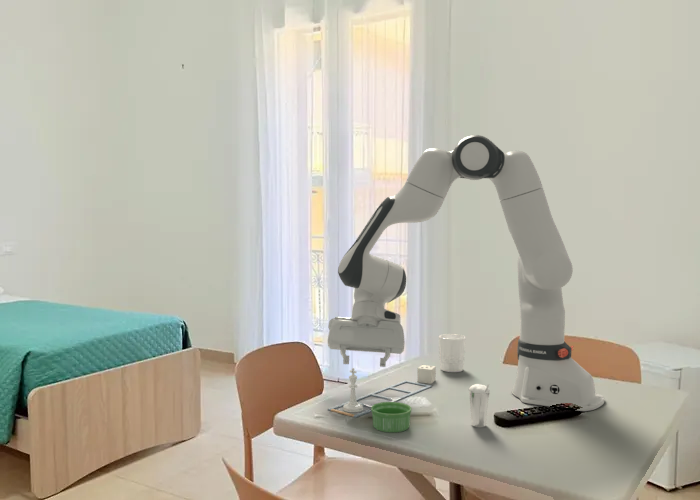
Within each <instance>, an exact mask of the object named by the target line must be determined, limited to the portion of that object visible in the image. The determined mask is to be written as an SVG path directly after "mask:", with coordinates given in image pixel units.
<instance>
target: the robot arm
mask: <svg viewBox="0 0 700 500" xmlns="http://www.w3.org/2000/svg"><path fill="white" fill-rule="evenodd" d="M459 178H460V179H465V180H466V179H467V180H471V181H479V180H482V179H489V180H490V181H491V182H492V183H493V185H494V187H495V189H496V190H495V191H496V192H497V195H498V200H499V201H500V202H499V203H500V206H501V209H502V211H503V216H504V218H505V221H506V225H507V228H508V231H509V233H510V234H511V237H512V239H513V242H514V244H515V246H516V249H517V252H518V254H519V256H518V258H517V280H518V281H517V282H518V297H519V314H520V315H519V316H520V317H519V338H518V340H517V350H516V351H517V352H516V353H517V354H516V355H517V360H518V361H517V362H518V363H517V372H516V377H515V381H514V384H513V387H512V391H511V393H512V394H513V395H514V396H515V397H517V398H518V399H519V400H520V401H521V402H522V403H525V404H530V405H536V406H537V405H538V406H544V407H550V406H552V405H556V404H560V403H573V404H576V405H578V406H581V407H583V408H580V409H577V410H576V411H578V412H579V411H580V412H587V411H588V412H589V411H593V410H597V409H599V408H600V407H602V406H603V405H604V404H605V397H604V395H603V394H600V393H596V387H595V381H594V378H593V376H592V374H591V373H589V372H588V371H587V370H586V369H585V368H584V367H583V366H581V365H580V364H579V363H578V362H577V361H576V360H575V359H573V358H572V351H574V345H571V346H570V345H569V344H568V343H566V342H565V333H566V331H565V330H566V328H565V326H566V325H565V324H566V323H565V322H566V310H565V306H564V300H563V291H562V288H563V287H565V286H566V285H568V283H569V282H570V281H571V278H572V275H573V269H574V268H573V265H572V261H571V259H570V257H569V254H568V252H567V251H568V250H567V249H566V247H565V244H564V241H563V239H562V236H561V235H560V232H559V229H558V228H557V226H556V223H555V221H554V218H553V215H552V213H551V209H550V206H549V203H548V200H547V197H546V194H545V190H544V186H543V184H542V180H541V178H540V176H539V173H538V170H537V169H536V167H535V165H534V162H533V160H532V159H531V158H530V156H529V154H528V153H526V152H524V151H521V150H511V151H506V152H504V151H502V150H501V149H500V148H499V147H498V146H497V145H496V144H495V143H494V142H493V141H492V140H491V139H489V138H488V137H485V136H483V135H479V134H472V135H468V136H465V137H463V138H462V139H461V140H459V142H458V143H457V144H456V145H455V148H454V149H452V150H450V151H449V150H444V149H442V148H438V147H437V148H436V147H432V148H427V149H426V150H424V151H423V152H422V154H421V155H420V156H419V157H418V159H417V161H416V162H415V164H414V165H413V167H412V169H411V171H410V172H409V174H408V176H407V178H406V181H405V183H404V185H403V186H402V188H401V189H400V190H399V191H398V192H397V193H396V194H395V195H393V196H388V197H385V199H384V200H383V201H381V203H380V204H379V206H378V207H377V208H376V210H375V211H374V213H373V214H372V215H371V216H370V218H369V220H368V221H367V223H366V225H365V226H364V228H363V229H362V231H361V232H360V234H359V235H358V236H357V238H356V240H355V241H354V243H353V244H352V245H351V247H350V248H348V250H347V252H346V253H345V254H344V255H343V257H342V258H341V260H340V263H339V266H338V268H337V274H338V277H339V278H340V280H341V282H342V283H343V285H344V286H346V287H348V288H349V287H350V288H353V289H354V291H353V299H354V303H353V304H352V309H351V317H347V316H346V317H344V316H343V317H341V316H335V317H333V318H331V319H330V320H329V322H328V330H329V332H328V336H327V346H328V348H329V349H330V350H335V351H336V350H338V351H340V355H341V357H342V358H343V360H342V361H343V362H342V363H343V365H350V355H347V354H346V353H347V351H353V352H369V353H383V354H384V356H383V357H380V359H379V366H380V367H382V368H386V367H387V365H386V363H387V362H388V360H389V359H390V358H391V354H396V355H398V354H399V355H401V354H402V353H404V351H405V333H404V327H403V326H402V324H401V322H402V321H401V320H402V319H401V315H400V314H399V313H396V312H394V311H391V310H389V309H386V308H385V305H386V303H388V304H389V303H390V302H393V301H395V300H396V299H398V298H400V296H402V295H403V294H404V292H405V289H406V285H407V274H406V271H405V268H404V267H403V266H402V265H400V264H398V263H395V262H393V261H390V260H387V259H384V258H381V257H379V256H376V255H374V254H371V251H372V249H373V248H374V246H375V245H376V244H377V242H378V241H379V239H380V237H381V236H382V234H383V233H384V231H385V230H386V229H387V228H388V227H390V226H393V225H396V224H402V223H403V224H404V223H406V224H409V223H410V224H411V223H413V224H414V223H417V224H418V223H422V222H426V221H429V220H431V219H432V218H434V217H435V216H436V215H437V214H438V213H439V210H440V209H441V207H442V205H443V203H444V201H445V199H446V197H447V194H448V192H449V190H450V188H451V186H452V184H453V183H454V182H455V181H456V180H457V179H459Z"/></svg>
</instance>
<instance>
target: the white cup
mask: <svg viewBox="0 0 700 500" xmlns="http://www.w3.org/2000/svg"><path fill="white" fill-rule="evenodd" d="M438 349H439V351H438V353H439V367H440V368H439V369H440V370H441V371H444V372H447V373H460V372H462V371H464V364H465V363H464V362H465V353H466V336H465V335H463V334H457V333H456V334H455V333H444V334H443V333H442V334H440V335H438Z"/></svg>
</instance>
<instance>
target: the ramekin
mask: <svg viewBox="0 0 700 500" xmlns="http://www.w3.org/2000/svg"><path fill="white" fill-rule="evenodd" d="M370 409H371V414H372V426H373V428H374V429H375V430H377V431H380V432H384V433H401V432H405V431H407V430H408V429H409V428H410V423H411V414H412V407H411V405H409V404H406V403H403V402H398V401H396V402H389V401H383V402H378V403H374V404H373V405H372V407H371V408H370Z"/></svg>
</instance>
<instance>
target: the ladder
mask: <svg viewBox="0 0 700 500" xmlns="http://www.w3.org/2000/svg"><path fill="white" fill-rule="evenodd" d="M406 383H407V384H412V385H417V386H422V387H421V388H419V389H417V390H416V389H415V390H414V391H412V390H411V391H410V390H406V389H401V388H397V387H398V386H401V385H403V384H406ZM432 387H433V385H431V384H427V383H421V382H417V381H416V382H415V381H412V380H411V381H410V380H406V379H405V380H403V381H400V382H397V383H395V384H392V385H388V386H387V387H384V388H381V389H378V390H376V391H373V392H370V393H367V394H365V395H362V396H359V397H356V401H357V402H358V403H359V404H361V405H362V406H363V407H365V406H364V404H365V403H364V402H359V401H361V400H363V399H366V398H369V397H371V396H372V397H376V398H380V399H385V400H388V399H391V398H392V397H388V396H384V395H380V394H379V393H381V392H384V391H387V390H393V391H398V392H402V393H406V394H404V395H401V396H399V397H398V398H403V399H406V398H408V397H410V396H413V395H415V394H418V393H420V392H422V391H425V390H428V389H431V388H432ZM349 401H350V400H348V401H346V402H343V403H341V404H338V405H334V406H332V407H330V408H328V409H327V411H330V412H333V413H337V414H340V415H341V414H342V415H345V416H348V417H353V418H358V417H361V416H363V415H366V414H369V413H372V411H371V410H369V409H366V410H365V411H364V410H363V411H360V412H358V413H356V414H354V413H352V412H346V411H344V410H343V411H342V410H338V409H339V408H343V406H344V405H345V404H347V403H348V402H349ZM363 403H364V404H363Z"/></svg>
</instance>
